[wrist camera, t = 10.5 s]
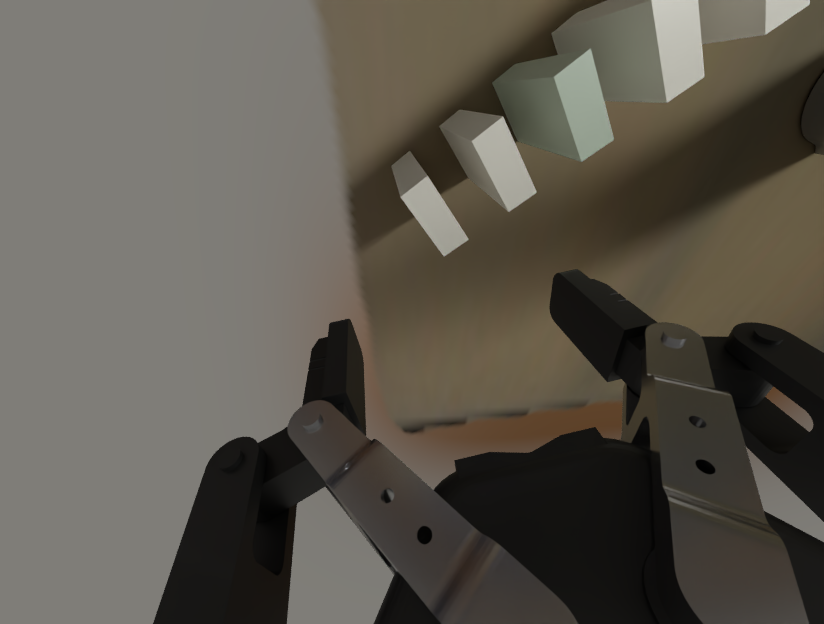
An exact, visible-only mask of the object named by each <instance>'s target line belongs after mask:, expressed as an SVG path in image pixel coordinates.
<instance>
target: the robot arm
mask: <svg viewBox="0 0 824 624" xmlns="http://www.w3.org/2000/svg"><path fill="white" fill-rule="evenodd" d="M801 128H802V133H803V135H804V137H805V138H806V139H807V140H808V141H810V142H811V143H813V144H815V146H816V150H815V154H821V155H824V73H823V74H822V75H821V77H820V78H819V80H818V81H817V83H816V85H815V86H814V88H813V90H812V91H811V93H810V96H809V98H808V100H807V102H806V104H805V107H804V111H803V114H802V122H801ZM550 314H551V316H552V319H553V320H554V322H555V323H556V324H557V325H558V326H559V327H560V329H561V330H562V331H563V332H564V333H565V334H566V335H567V337H568V338H569V339H570V340H571V341H572V342H573V343H574V345H575V346H576V347H577V348H578V349H579V350H580V351H581V353H582V354H583V355H584V356H585V357H586V358H587V359H588V361H589V362H590V363H591V364H592V365H593V366H594V367H595V369H596V370H597V371H598V372H599V373H600V374H601V375H602V377H603V378H604V379H605V380H606V381H607V382H610V381H614V380H618V379H622V380H623V381H624V382H625V385H624V387H623V407H622V408H623V409H622V435H621V440H616V439H609V438H603V437H602V436H601V434H600V433H599V432H598V430H597V429H596V428H595V427H594V428H589V429H585V430H581V431H577V432H572V433H568V434H564V435H560V436H559V437H557V438H555V439H554V440H552V441H550V442H548V443H547V444H545V445H543V446H541V447H540V448H538V449H536V450H534V451H533V452H530V453H505V452H488V453H484V454H480V455H475V456H471V457H467V458H463V459H458V460H455V467H456V472H454V473H452V474H451V475H449V476H448V477H446V478H445V479H444V480H442V481H441V482H440V483H439V484H438V485H437V486H436V487H435V489H434V490H433V489H431V488H430V487H429V486H428V485H427V484H426V483H425V482H424V481H422V479H421V478H419V477H418V476H417V475H416V474H415V473H414V472H413V471H412V470H411V469H410V468H408V467H407V466H406V465H405V464H404V463H403V462H402V461H401V460H400V459H398V458H397V457H396V456H395V455H394V454H393V453H392V452H391V451H390V450H389V449H387V448H386V447H385V446H384V445H383V444H382V443H381V442H379V441H378V440H376V439H373V440H372V441H371V440H370V439H368V438H367V437H366V419H365V390H364V362H363V356H362V351H361V348H360V345H359V342H358V339H357V336H356V334H355V331H354V328H353V325H352V322H351V320H350V319H345V320H341V321H336V322H332V323H330V324H329V332H328V337H325V338H321V339H318V341H317V343H316V344H315V346H314V347H313V348H312V351H311V358H310V363H309V371H308V375H307V382H306V387H305V393H304V399H303V405H302V407H300V408H299V409H298V410H297V411H296V412H295V413H294V414H293V416H292V417H291V419H290V421H289V424H288V427H286V428H285V429H283V430H282V431H280V432H278V433H276V434H274V435H272V436H270V437H269V438H267V439H265V440H263V441H261V442H259V443H257V442H256V440H254V439H253V438H251V437H240V438H236V439H234V440H232V441H229V442H228V443H226V444H225V445H224V446H222V447H221V448H220V449H219V450H218V451H217V452H216V453H215V454H214V455H213V456H212V458H211V459H210V461H209V462H208V464H207V466H206V469H205V473H204V475H203V478H202V481H201V484H200V487H199V490H198V493H197V496H196V498H195V501H194V504H193V507H192V510H191V513H190V516H189V519H188V522H187V525H186V528H185V531H184V534H183V537H182V540H181V543H180V546H179V549H178V552H177V554H176V558H175V561H174V563H173V566H172V570H171V572H170V575H169V578H168V581H167V584H166V587H165V590H164V593H163V596H162V599H161V602H160V605H159V608H158V611H157V614H156V617H155V620H154V623H153V624H287V612H288V601H289V590H290V578H291V566H292V554H293V542H294V531H295V518H296V507H297V503H298V502H300V501H302V500H303V499H305V498H306V497H308V496H310V495H312V494H313V493H315V492H317V491H318V490H320V489H321V488H323V487H326V488H327V490H328V491H329V492H330V493H331V495H332V496H333V497H334V498H335V499H336V501H337V502H338V503H339V505H340V506H341V507H342V509H343V510H344V511H345V512H346V514H347V515H348V516H349V517H350V519H351V520H352V521H353V523H354V524H355V525H356V526H357V528H358V529H359V530H360V532H361V533H362V534H363V536H364V537H365V538H366V540H367V541H368V542H369V544H370V545H371V546H372V547H373V549H374V550H375V551H376V553H377V554H378V555H379V556H380V558H381V559H382V560H383V561H384V563H385V564H386V565H387V567H388V568H389V569H390V570H391V572H392V573H393V574H394V577H393V579H392V581H391V584H390V587H389V589H388V591H387V594H386V596H385V598H384V600H383V603H382V605H381V608H380V610H379V613H378V615H377V617H376V620H375V622H374V624H824V542H822V541H820V540H818V539H816V538H814V537H812V536H811V535H809V534H807V533H805V532H803V531H801V530H799V529H797V528H795V527H793V526H792V525H790V524H788V523H786V522H784V521H782V520H780V519H778V518H776V517H775V516H773V515H771V514H769V513H767V512H765V511H764V510H763V506H762V503H761V499H760V495H759V492H758V488H757V485H756V481H755V478H754V474H753V470H752V467H751V463H750V460H749V456H748V453H747V449H746V447H747V448H748V449H749V450H750V451H751V452H752V453H753V454H754V455H755V456H756V457H758V458H759V459H760V460H761V461H762V462H763V463H764V464H765V465H766V466H767V467H768V468H769V469H770V470H771V471H772V472H773V473H774V474H775V475H776V476H777V477H778V478H779V479H780V480H781V481H782V482H783V483H784V484H785V485H786V486H787V487H788V488H790V490H791V491H793V492H794V493H795V494H796V495H797V496H798V497H799V498H800V499H801V500H802V501H803V502H804V503H805V504H806V505H807V506H808V507H809V508H810V509H811V510H812V511H813V512H814V513H815V514H816V515H817V516H818V517H819V518H820V519H821V520H822V521H823V522H824V353H823V352H821V351H819V350H818V349H816V348H814V347H813V346H811V345H809V344H808V343H806V342H804V341H803V340H801V339H799V338H798V337H796V336H794V335H792V334H791V333H789V332H787V331H785V330H783V329H780V328H777V327H774V326H771V325H767V324H761V323H741V324H738V325H736V326H735V327H734V328H733V330H732V331H731V333H730V335H729V336H728V337H701V336H700V335H699V334H697V333H696V332H695V331H693V330H691V329H689V328H687V327H685V326H682V325H678V324H674V323H667V322H661V323H657V322H656V321H655V320H653V319H652V318H651V317H649V316H648V315H647V314H645V313H644V312H643V311H641V310H640V309H639V308H638V307H636V306H635V305H634V304H632V303H631V302H630V301H628V300H627V301H626V298H624V297H623V296H622V295H620V294H618V293H617V292H616V291H615V290H614V289H612V288H611V287H610V286H609V285H607V284H605V283H602V282H600V281H597V280H595V279H590V278H588V277H587V276H586V275H585V274H583V273H582V272H581V271H579V270H577V269H575V270H570V271H566V272H561V273H557V274H555V276H554V278H553V284H552V292H551V299H550ZM773 386H774V387H775V388H776V389H778V390H779V391H780V392H782V393H783V394H784V395H786V396H787V397H788V398H790V399H791V400H792V401H794V402H795V403H796V404H798V405H799V406H800V407H802V408H803V409H804V410H806V411H807V413H809V415H810V416H811V418H812V420H813V424H814V425H813V429H812V430H811V431H810V432H808V431H807V430H806V429H805V428H803V427H802V426H801V425H800V424H798V423H797V422H796V421H795V420H793V419H792V418H791V417H790V416H788V415H787V414H786V413H785V412H783V411H782V410H781V409H780V408H778V407H777V406H776V405H775V404H773V403H772V402H771V401H770V400H768V399H767V398H766V397H765V396H766V395H767V393H768V392H769V391H770V390H771V389H772V387H773Z"/></svg>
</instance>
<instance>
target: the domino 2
mask: <svg viewBox="0 0 824 624" xmlns="http://www.w3.org/2000/svg"><path fill="white" fill-rule="evenodd" d="M439 127H440V129H441V131H442V133H443V134H444V136H445V138H446V140H447V142H448V143H449V145H450V147H451V149H452V150H453V152H454V154H455V156H456V157H457V159H458V161H459V163H460V164H461V166H462V168H463V170H464V171H465V173H466V175H467V177H468V178H469V179H470V180H471V181H472V182H474V183H475V184H476V185H477V186H478V187H479V188H481V189H482V190H483V191H484V192H485V193H487V194H488V195H489V196H490V197H491V198H493V199H494V200H495V201H496V202H497V203H498V204H500V205H501V206H502V207H503V208H504V209H506V210H507V211H508V212H509V211H511V210H512V209H514V208H515V207H517V206H518V205H520V204H521V203H522V202H524V201H525V200H527V199H528V198H530V197H531V196H533V195H534V194H535V193H537V192H536V189H535V187H534V185H533V183H532V180H531V178H530V176H529V174H528V171H527V169H526V167H525V165H524V162H523V160H522V158H521V156H520V153H519V151H518V149H517V147H516V144H515V142H514V140H513V138H512V135H511V133H510V131H509V129H508V126H507V124H506V122H505V120H504V117H503V116H497V115H491V114H485V113H479V112H473V111H466V110H460V109H459V110H458V111H457V112H456V113H454V114H453V115H452V116H451V117H450V118H448V119H447V120H446V121H445V122H444V123H442V124H441V125H440V126H439Z"/></svg>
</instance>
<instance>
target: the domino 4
mask: <svg viewBox="0 0 824 624" xmlns="http://www.w3.org/2000/svg"><path fill="white" fill-rule="evenodd" d="M551 35H552V38H553V41H554V45H555V48H556V51H557V54H558V55H560V54H565V53H570V52H575V51H579V50H584V49H589V48H591V51H592V55H593V59H594V63H595V67H596V71H597V75H598V79H599V83H600V87H601V90H602V94H603V98H604V101H620V102H655V103H667V102H669V101H670V100H672V99H673V98H675V97H676V96H678V95H679V94H680V93H682V92H683V91H685V90H686V89H688V88H689V87H691V86H692V85H693V84H695V83H696V82H698V81H699V80H701V79H702V78H704V65H703V52H702V40H701V28H700V16H699V4H698V0H607V1H604V2H602V3H599V4H597V5H594V6H592V7H589V8H587V9H584V10H582V11H579V12H577V13H575V14H574V15H573V16H572V17H571V18H569V19H568V20H567V21H566V22H564V23H563V24H562V25H561V26H560V27H558V28H557V29H556V30H555V31H554V32H552V33H551Z"/></svg>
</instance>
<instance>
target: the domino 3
mask: <svg viewBox="0 0 824 624" xmlns="http://www.w3.org/2000/svg"><path fill="white" fill-rule="evenodd" d="M492 84H493V86H494V88H495V91H496V93H497V95H498V98H499V100H500V102H501V105H502V107H503V109H504V112H505V114H506V116H507V118H508V121H509V123H510V125H511V128H512V130H513V132H514V135H515V137H516V139H517V141H518V142H521V143H524V144H527V145H530V146H534V147H537V148H540V149H543V150H546V151H549V152H552V153H555V154H558V155H562V156H565V157H568V158H571V159H574V160H577V161H580V162H582V161H584V160H585V159H587V158H588V157H589V156H591V155H592V154H594V153H595V152H597V151H598V150H600V149H601V148H603V147H604V146H606V145H607V144H608V143H610V142H611V141H613V140H614V138H613V134H612V130H611V126H610V122H609V118H608V114H607V110H606V106H605V102H604V98H603V94H602V90H601V87H600V83H599V79H598V75H597V71H596V67H595V63H594V59H593V55H592V51H591V48H589V49H584V50H579V51H575V52H570V53H565V54H560V55H555V56H550V57H546V58H541V59H536V60H531V61H526V62H521V63H517V64H514V65H513V66H512V67H510V68H509V69H508V70H507V71H506V72H504V73H503V74H502V75H501V76H499V77H498V78H497V79H496V80H495V81H493V82H492Z"/></svg>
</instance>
